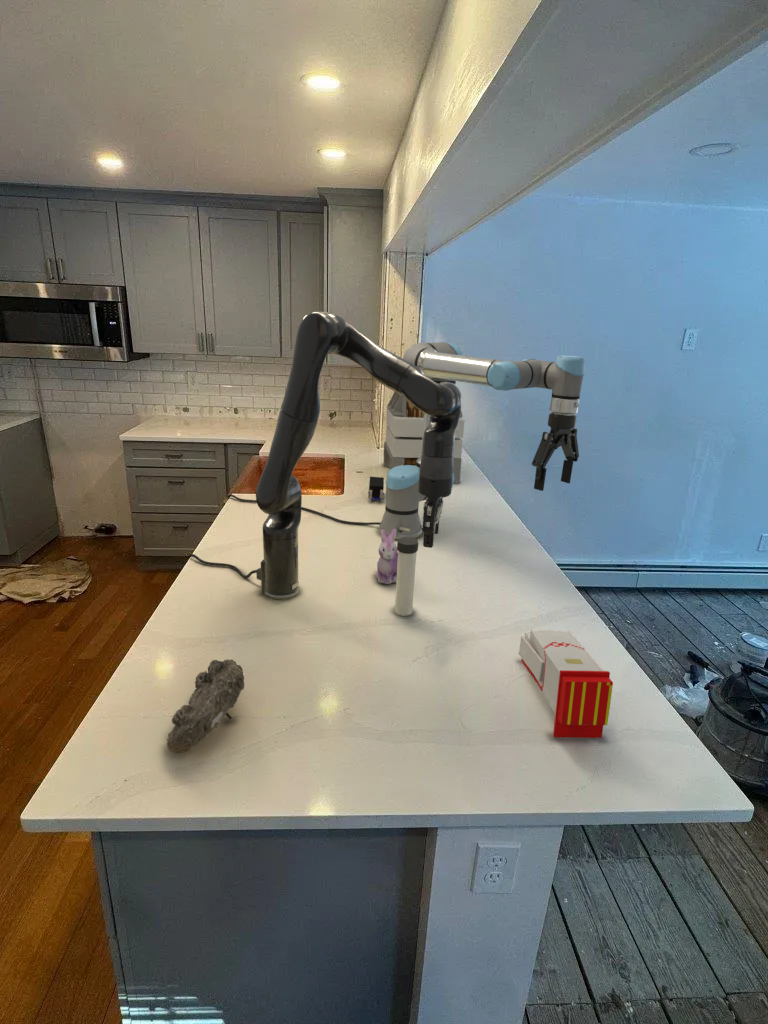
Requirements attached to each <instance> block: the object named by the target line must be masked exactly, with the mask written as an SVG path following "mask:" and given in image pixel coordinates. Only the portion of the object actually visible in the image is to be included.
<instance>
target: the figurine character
mask: <svg viewBox="0 0 768 1024" xmlns="http://www.w3.org/2000/svg"><path fill="white" fill-rule="evenodd" d="M384 488H385V477H381V476H369V484H368V492H367V494H368V499H370V501H371V502H372V503H373V502H374V500H375V501H376V500H377V502H378V503H380V502H381V499H384V495H385V493H384Z"/></svg>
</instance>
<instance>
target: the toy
mask: <svg viewBox="0 0 768 1024" xmlns="http://www.w3.org/2000/svg"><path fill="white" fill-rule="evenodd" d="M519 641H520V642H519V650H518V655H519V657H520V658H521V660H520V661H521V662H522V664H523V666H524V667H525V669H526V670H527V671H528V673H529V674H530V676H531V677H532V679H533V680H534V682H535V684H536V685H537V686H538V687H539V689H540V690H541V692H542V694H543V696H544V697H545V699H546V701H547V702H548V705H549V706H550V708H551V709H552V711H553V713H554V723H553V732H552V733H553V734H552V736H553V738H570V739H571V738H572V739H575V738H577V739H578V738H579V739H581V738H583V739H584V738H587V739H602V737H603V732H604V726H608V725H609V716H610V710H611V702H612V693H613V685H614V682H613V681H612V679H611V677H610V675H611V672H610V671H609V670H603V668H601V666H600V665H599V664H598V663H597V661H595V659H594V658H593V657H592V656H591V654H589V652H588V651H587V650H586V648H585V647H584V646H583V645H582V644H581V643H580V642H579V640H578V639H577V638H576V637H575V635H574V634H573V633H572V632H571V631H570V630H538V629H537V630H536V629H535V630H534V629H530V631H525V632H524V636H520V640H519Z"/></svg>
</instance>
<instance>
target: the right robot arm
mask: <svg viewBox="0 0 768 1024" xmlns="http://www.w3.org/2000/svg"><path fill="white" fill-rule="evenodd" d="M402 359H404V360H406V361H408V362H409V363H411V364H413V365H415V366H417V367H418V368H420V369H421V370H422V371H423V373H424V376H426V377H427V378H429V379H431V380H432V381H434V382H436V383H438V384H439V383H442V382H451V383H453V384H455V385H456V384H457V382H461V383H465V384H473V385H479V386H487V387H491V388H492V389H494V390H496V391H503V392H504V391H511V390H520V389H532V388H533V389H534V388H539V389H546V390H551V398H550V404H549V413H548V418H547V419H548V420H547V426H548V427H549V428H550V431H549V432H548V431H543V432H542V435H541V440H540V442H539V445H538V447H537V449H536V452H535V454H534V457H533V460H532V461H531V466H533V467H535V475H534V477H535V478H534V485H533V489H534V490H537V491H539V492H543V491H544V489H545V484H546V483H545V482H546V476H547V468H546V466H547V465H548V463H549V461H550V459H551V457H552V456H553V454H554V453H555V451H556V450H557V449H558V448H560V447H561V449H562V452H563V455H564V458H565V459H563V463H562V468H561V469H562V470H561V475H560V482H562V483H566V484H571V478H572V472H573V466H574V463H576V462H578V461H579V457H580V453H579V444H578V428H576V423H577V419H578V416H577V414H578V412H579V411H578V410H579V406H580V397H581V391H582V385H583V380H584V376H585V365H586V360H585V358H584V357H582V356H578V355H566V354H565V355H564V354H563V355H558V356H557V357H556V360H555V361H549V360H541V359H536V358H524V359H521V360H506V359H505V360H504V359H503V360H502V359H496V358H487V357H479V356H471V355H464V354H463V352H462V350H461V349H460V347H459V346H457V345H456V344H455V343H451V342H445V341H443V342H442V341H441V342H440V341H439V342H438V341H437V342H417V343H414V344H412V345H411V346H409V347H408V348H407V350H406V351H405V353H404V355H403V357H402ZM456 386H457V385H456ZM429 421H430V416H429V415H427V414H425V413H424V419H423V434H422V446H423V435H424V431H425V429H426V428H427V427H428V425H429ZM421 456H422V449H421ZM420 461H421V457H420V458H418V459H417V461H416V466H413V465H401V466H396V467H394V468H392V469H390V468H389V470H388V472H387V474H386V479H385V504H384V505H385V507H384V508H385V509H384V513H383V515H382V519H381V522H376V521H374V522H373V521H371V522H370V521H369V522H365V521H364V522H363V521H361V522H360V521H348V520H342V519H340V518H337V517H333V516H331V515H329V514H327V513H326V514H325V513H322V512H320V511H317V510H314V509H311V508H307V507H303V506H301V510H304V511H307V512H309V513H313V514H317V515H319V516H322V517H324V518H328V519H330V520H333V521H335V522H339V523H342V524H349V525H359V526H360V525H361V526H362V525H364V526H373V525H374V526H375V525H377V526H378V533H379V534H380V535H381V530H385V532H386V534H387V536H389V534H390V533H391V531H392V530H393V529H396V536H395V540H394V541H398V539H399V538H402V537H411V538H415V539H418V538H420V537H421V536H422V535H423V532H422V527H423V524H421V518H420V515H419V507H420V506H419V505H420V502H423V501H424V502H425V501H426V499H428V498H427V497H426V496H423V495H421V494H420V493H419V491H418V486H419V472H420ZM454 484H455V483H454V473H453V479H452V488H454V487H453V486H454ZM228 498H234V499H235V500H238V501H240V502H245V503H246V502H247V503H257V501H256V499H245V498H240V497H238V496H236V495H235V494H228V495H227V496H226V499H228Z"/></svg>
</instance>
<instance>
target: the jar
mask: <svg viewBox="0 0 768 1024" xmlns="http://www.w3.org/2000/svg"><path fill="white" fill-rule="evenodd" d="M416 564H417V552H415V553H412V554H406V553H401V552H399V551H398V563H397V580H396V582H395V601H394V613H396V614H397V615H398V616H401V617H403V616H404V617H405V616H410V615H412V614H413V609H414V592H415V578H416Z"/></svg>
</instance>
